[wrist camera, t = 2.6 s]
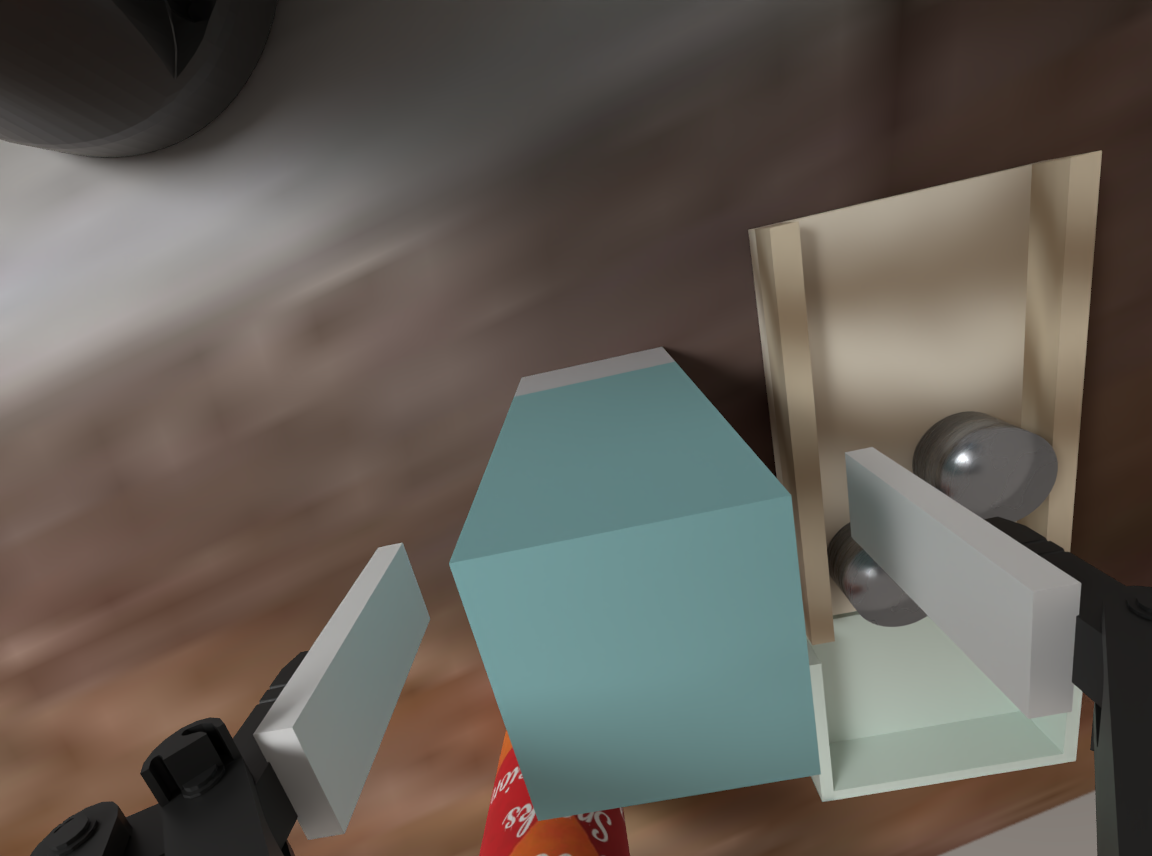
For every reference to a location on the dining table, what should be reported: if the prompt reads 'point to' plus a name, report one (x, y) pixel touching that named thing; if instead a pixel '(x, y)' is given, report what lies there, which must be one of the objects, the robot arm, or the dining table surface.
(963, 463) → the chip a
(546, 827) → the paper cup
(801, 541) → the slot board
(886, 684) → the tray
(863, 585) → the chip
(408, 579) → the robot arm
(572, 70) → the dining table surface
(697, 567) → the teal tall block
